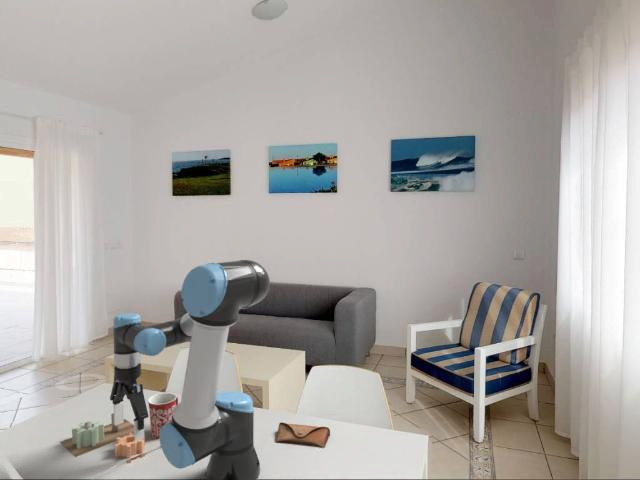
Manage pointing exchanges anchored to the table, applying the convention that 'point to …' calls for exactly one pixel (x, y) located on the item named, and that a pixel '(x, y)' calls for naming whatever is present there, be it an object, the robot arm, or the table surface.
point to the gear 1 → (87, 434)
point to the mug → (161, 411)
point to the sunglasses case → (302, 435)
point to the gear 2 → (129, 447)
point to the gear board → (109, 436)
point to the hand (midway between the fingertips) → (128, 431)
